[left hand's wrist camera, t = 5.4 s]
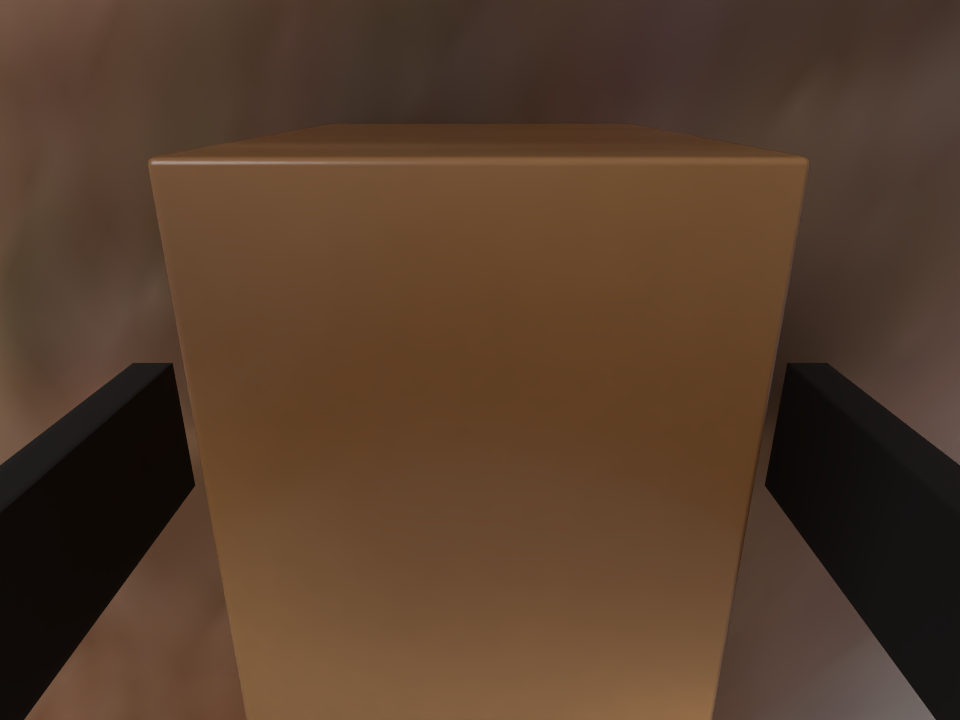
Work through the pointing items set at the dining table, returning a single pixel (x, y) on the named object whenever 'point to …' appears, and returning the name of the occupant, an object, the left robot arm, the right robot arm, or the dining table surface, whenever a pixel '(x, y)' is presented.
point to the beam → (479, 408)
